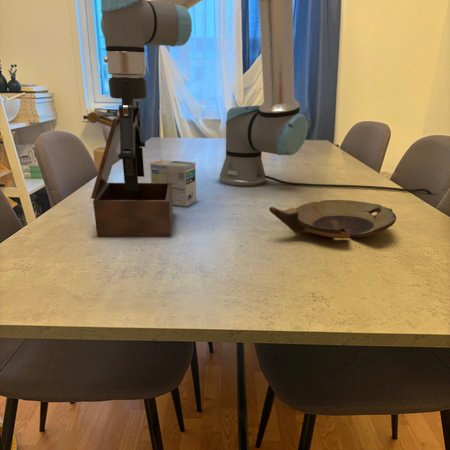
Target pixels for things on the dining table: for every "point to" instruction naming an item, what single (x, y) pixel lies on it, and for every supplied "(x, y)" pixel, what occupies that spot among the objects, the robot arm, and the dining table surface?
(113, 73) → the robot arm
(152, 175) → the light bulb box
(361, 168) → the dining table surface
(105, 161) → the lid
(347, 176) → the dining table surface
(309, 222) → the oil lamp
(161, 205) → the chest
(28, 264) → the dining table surface
